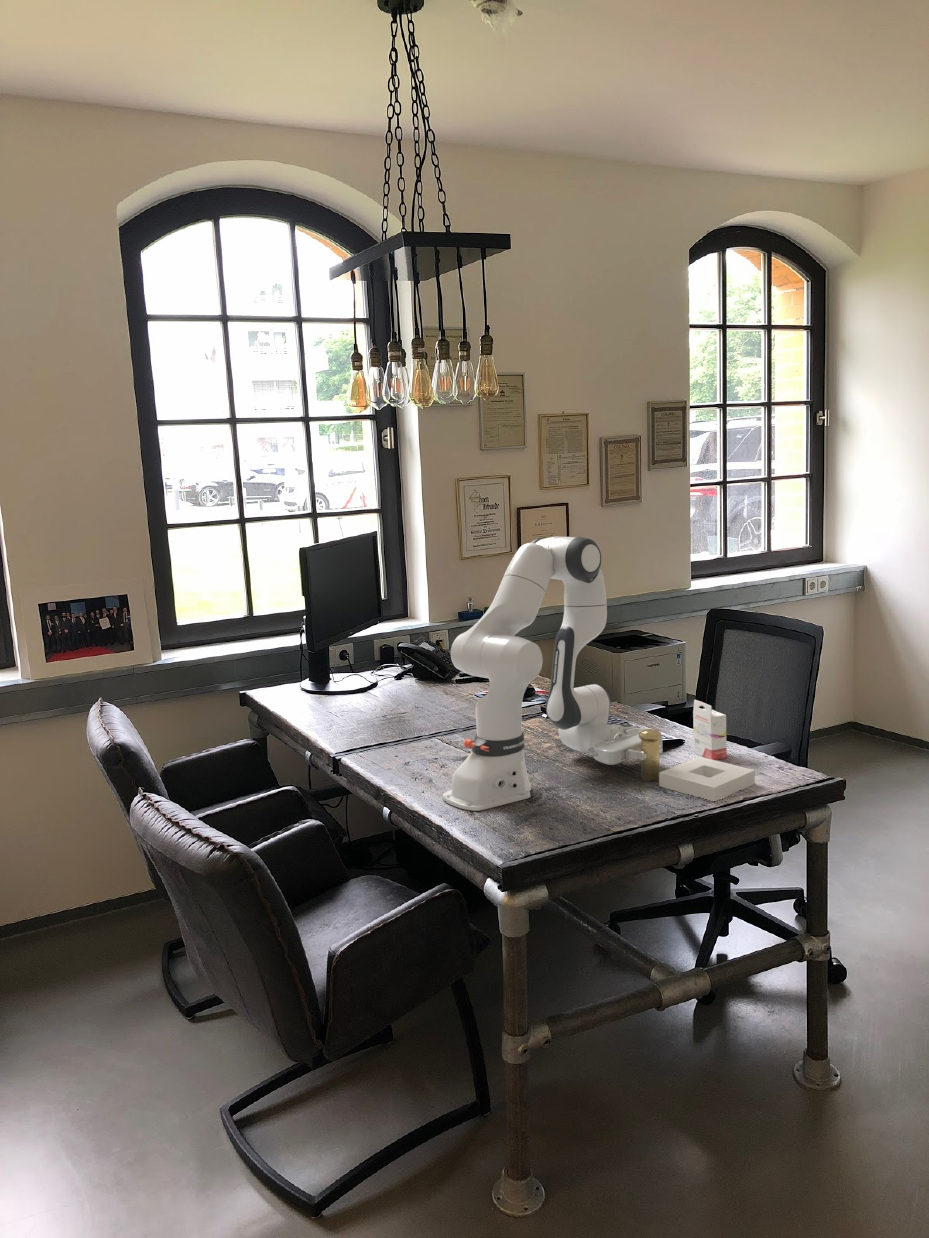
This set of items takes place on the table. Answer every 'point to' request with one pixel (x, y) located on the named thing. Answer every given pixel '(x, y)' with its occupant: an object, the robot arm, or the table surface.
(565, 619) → the robot arm
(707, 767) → the socket block
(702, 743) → the ink cartridge box
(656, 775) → the brass fitting
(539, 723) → the table surface
